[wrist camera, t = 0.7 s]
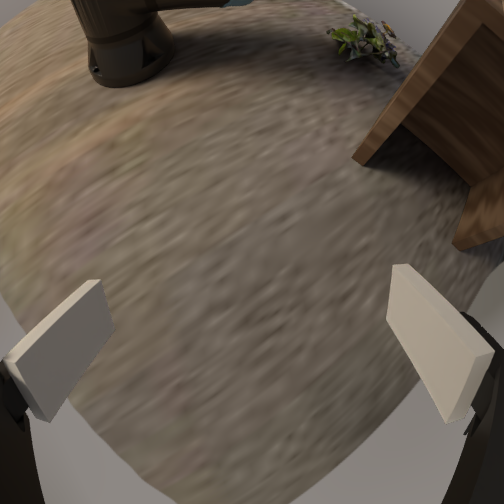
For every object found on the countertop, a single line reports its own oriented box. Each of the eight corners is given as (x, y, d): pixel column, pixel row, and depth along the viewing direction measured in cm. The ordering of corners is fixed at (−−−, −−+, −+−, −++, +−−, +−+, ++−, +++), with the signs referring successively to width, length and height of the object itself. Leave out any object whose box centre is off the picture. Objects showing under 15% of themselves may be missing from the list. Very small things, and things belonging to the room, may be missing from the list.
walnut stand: (459, 251, 38) (623, 186, 9) (351, 157, 40) (473, -11, 10) (479, 188, 41) (602, 110, 12) (386, 105, 42) (478, -28, 13)
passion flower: (364, 74, 50) (414, 65, 40) (332, 82, 46) (387, 71, 36) (344, 25, 45) (392, 9, 35) (309, 27, 41) (361, 6, 32)
